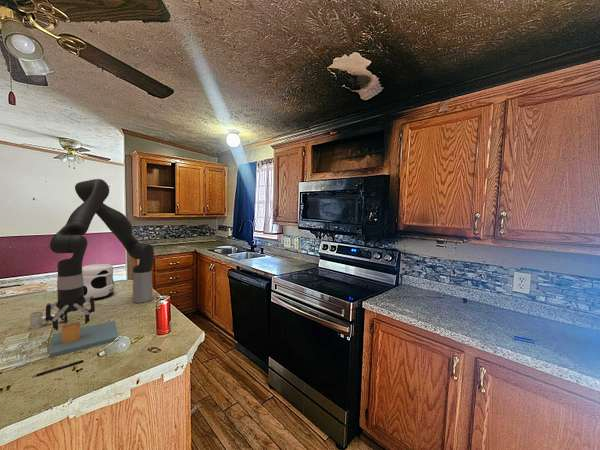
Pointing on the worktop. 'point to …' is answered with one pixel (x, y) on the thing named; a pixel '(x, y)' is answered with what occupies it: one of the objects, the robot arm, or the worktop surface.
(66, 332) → the cap
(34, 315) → the valve
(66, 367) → the black thin rod
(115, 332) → the board
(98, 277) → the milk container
